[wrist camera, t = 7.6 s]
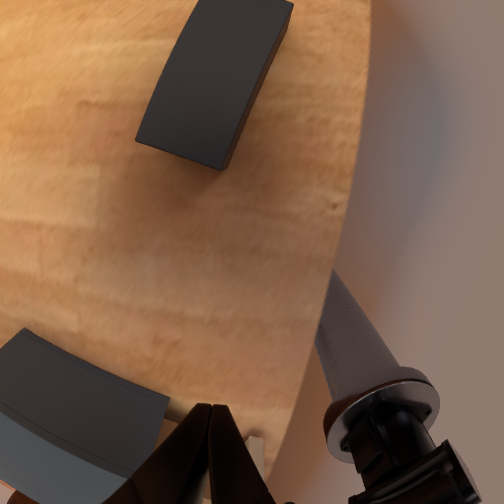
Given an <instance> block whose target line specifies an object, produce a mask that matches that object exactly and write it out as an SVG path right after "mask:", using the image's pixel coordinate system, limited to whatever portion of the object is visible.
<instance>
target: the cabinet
mask: <svg viewBox="0 0 504 504" xmlns="http://www.w3.org/2000/svg"><path fill="white" fill-rule="evenodd" d="M169 400H170V397H167V396H164V395H161V394H159V393H156V392H154V391H151V390H149V389H146V388H144V387H141V386H139V385H136V384H134V383H131V382H129V381H127V380H124V379H122V378H120V377H117V376H115V375H113V374H111V373H108V372H106V371H104V370H102V369H100V368H98V367H96V366H93V365H91V364H89V363H87V362H85V361H83V360H81V359H79V358H77V357H75V356H73V355H71V354H69V353H68V352H66V351H64V350H62V349H60V348H58V347H56V346H54V345H53V344H51V343H49V342H47V341H45V340H44V339H42V338H40V337H38V336H37V335H35V334H33V333H32V332H30V331H28V330H27V329H25V328H23V329H22V330H21V331H20V332H19V333H17V334H16V335H15V336H14V337H13V338H12V339H11V340H9V341H8V342H7V343H6V344H5V345H4V346H3V347H1V348H0V479H1V480H3V481H4V482H6V483H7V484H9V485H10V486H12V487H13V488H15V489H16V490H18V491H20V492H21V493H23V494H24V495H26V496H28V497H29V498H31V499H33V500H34V501H36V502H38V503H40V504H101V503H102V502H104V501H105V500H106V499H107V498H109V497H110V496H111V495H112V494H113V493H114V492H115V491H116V490H117V489H118V488H119V487H120V486H121V485H122V484H123V483H124V482H125V481H126V480H127V479H128V478H131V475H132V474H133V473H134V472H135V471H136V470H137V469H138V468H139V467H140V466H141V465H142V464H143V462H144V461H145V460H146V459H147V458H148V457H149V456H150V455H151V454H152V453H153V450H154V447H155V444H156V441H157V438H158V434H159V431H160V428H161V425H162V422H163V418H164V415H165V412H166V409H167V406H168V403H169Z"/></svg>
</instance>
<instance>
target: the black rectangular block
mask: <svg viewBox="0 0 504 504" xmlns="http://www.w3.org/2000/svg"><path fill="white" fill-rule="evenodd" d="M293 6H294V4H293V3H291V2H288V1H286V0H199V1H198V2H197V4H196V6H195V8H194V10H193V11H192V13H191V15H190V17H189V19H188V21H187V22H186V24H185V26H184V28H183V30H182V32H181V34H180V36H179V38H178V40H177V42H176V44H175V46H174V48H173V50H172V52H171V54H170V56H169V58H168V61H167V63H166V65H165V67H164V69H163V71H162V74H161V76H160V78H159V80H158V83H157V85H156V87H155V90H154V92H153V95H152V97H151V99H150V102H149V104H148V107H147V109H146V112H145V114H144V117H143V119H142V122H141V125H140V127H139V130H138V133H137V136H136V138H135V141H136V142H138V143H142V144H145V145H148V146H151V147H154V148H157V149H159V150H162V151H165V152H168V153H171V154H174V155H177V156H180V157H183V158H185V159H188V160H191V161H194V162H197V163H199V164H202V165H205V166H208V167H210V168H213V169H216V170H218V171H221V170H226V169H227V168H228V165H229V163H230V160H231V158H232V155H233V153H234V150H235V148H236V145H237V143H238V140H239V138H240V135H241V133H242V131H243V128H244V126H245V123H246V121H247V119H248V116H249V114H250V111H251V109H252V107H253V104H254V102H255V100H256V97H257V95H258V93H259V91H260V88H261V86H262V84H263V81H264V79H265V77H266V75H267V72H268V70H269V68H270V66H271V63H272V61H273V59H274V57H275V55H276V52H277V50H278V48H279V46H280V44H281V42H282V39H283V37H284V35H285V33H286V31H287V28H288V25H289V21H290V17H291V13H292V10H293Z"/></svg>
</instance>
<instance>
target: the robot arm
mask: <svg viewBox="0 0 504 504" xmlns="http://www.w3.org/2000/svg"><path fill="white" fill-rule="evenodd" d="M381 403H382V404H381ZM431 413H432V408H431V406H428V405H421V404H415V403H410V402H404V401H398V400H393V399H388V398H379V399H377V400H376V401H375V402H374V404H373V405H372V406H371V408H370V409H369V410H368V412H367V413H366V414H365V415H364V417H363V418H362V419H361V421H360V422H359V423H358V424H357V425H356V427H355V428H354V429H353V430H352V432H351V433H350V434H349V435H348V436H347V437H346V439H345V440H344V441H343V442H342V443H341V444H340V450H341V451H343V452H350V453H351V454H352V457H353V460H354V464H355V467H356V470H357V473H358V474H361V477H362V480H363V483H364V487H365V490H366V491H364V492H362V493H360V494H358V495H354V496H352V497H349V498H348V504H479V503H480V502H482V499H481V496H480V494H479V491H478V489H477V487H476V484H475V482H474V480H473V478H472V475H471V474H470V472H469V470H468V468H467V467H466V465H465V463H464V462H463V460H462V458H461V457H460V455H459V454H458V453H457V451H456V450H455V449H454V447H453V446H452V445H451V443H450V442H449V441H448V439H446V440H445V441H444V442H442V443H441V445H440V446H439V447H437V448H436V446H435V444H434V442H433V440H432V438H431V437H430V435H429V433H428V431H427V429H426V428H425V426H424V424H423V423H424V421H425V420H426V419H427V418H428V417H429V415H430V414H431ZM208 476H209V478H210V491H211V503H212V504H276V503H275V501H274V499H273V498H272V496H271V494H270V493H269V492H268V488H267V487H266V485H265V483H264V481H263V479H262V477H261V475H260V473H259V471H258V469H257V467H256V465H255V463H254V461H253V459H252V457H251V455H250V453H249V451H248V449H247V447H246V445H245V442H244V440H243V438H242V436H241V434H240V432H239V430H238V428H237V425H236V423H235V421H234V419H233V417H232V415H231V412H230V410H229V408H228V406H227V405H220V404H214V405H213V406H212V405H211V404H207V403H197V404H196V405H195V406H194V407H193V408H192V410H191V411H190V412H189V413H188V414H187V415H186V416H185V417H184V419H183V420H182V421H181V422H180V423H179V424H178V425H177V426H176V428H175V429H174V430H173V431H172V432H171V433H170V434H169V435H168V436H167V438H166V439H165V440H164V441H163V442H162V443H161V444H160V445H159V446H158V447H157V448H156V450H155V451H154V452H153V453H152V454H151V455H150V456H149V457H148V458H147V459H146V460H145V461H144V462H143V464H142V465H141V466H140V467H139V468H138V469H137V470H136V471H135V472H134V473H133V474H132V475H131V478H128V479H127V480H126V481H125V482H124V483H123V484H122V485H121V486H120V487H119V488H118V489H117V490H116V491H115V492H114V493H113V494H112V495H111V496H110V497H109V498H107V499H106V500H105V501H104V502H102V503H101V504H202V503H203V498H204V494H205V489H206V485H207V481H208Z"/></svg>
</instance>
